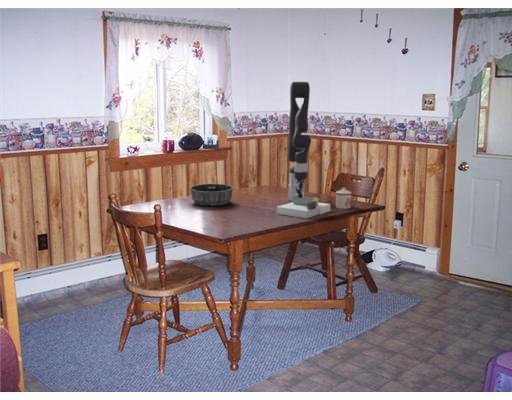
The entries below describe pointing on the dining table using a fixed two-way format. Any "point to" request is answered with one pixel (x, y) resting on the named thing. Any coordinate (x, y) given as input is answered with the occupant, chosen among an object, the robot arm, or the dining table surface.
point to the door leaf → (296, 210)
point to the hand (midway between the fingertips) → (300, 200)
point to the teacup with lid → (343, 199)
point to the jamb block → (321, 207)
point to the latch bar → (304, 200)
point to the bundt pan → (211, 194)
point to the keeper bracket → (311, 205)
